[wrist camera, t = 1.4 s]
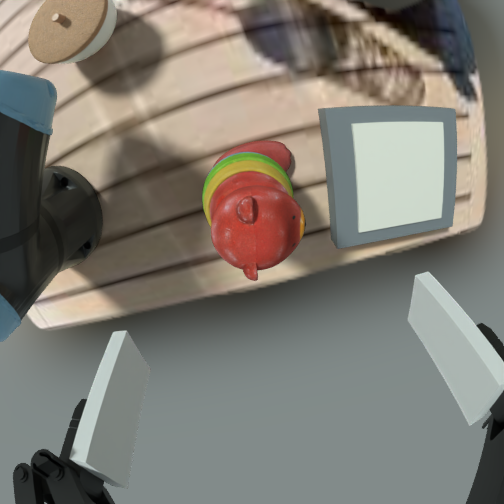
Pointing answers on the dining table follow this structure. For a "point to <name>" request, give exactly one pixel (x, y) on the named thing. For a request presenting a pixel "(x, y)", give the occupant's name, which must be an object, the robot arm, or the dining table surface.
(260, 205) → the stacking bear
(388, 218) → the slate plinth
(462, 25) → the dining table surface
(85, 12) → the lidded jar
